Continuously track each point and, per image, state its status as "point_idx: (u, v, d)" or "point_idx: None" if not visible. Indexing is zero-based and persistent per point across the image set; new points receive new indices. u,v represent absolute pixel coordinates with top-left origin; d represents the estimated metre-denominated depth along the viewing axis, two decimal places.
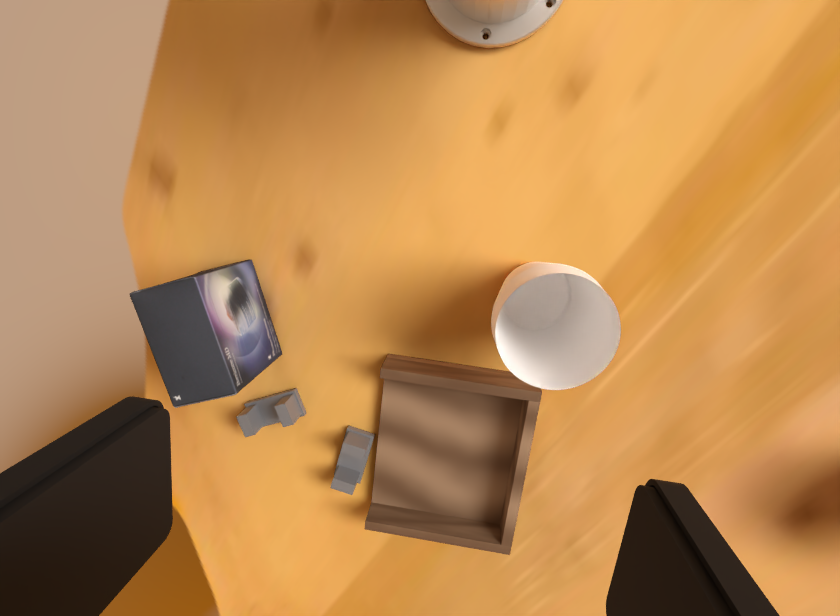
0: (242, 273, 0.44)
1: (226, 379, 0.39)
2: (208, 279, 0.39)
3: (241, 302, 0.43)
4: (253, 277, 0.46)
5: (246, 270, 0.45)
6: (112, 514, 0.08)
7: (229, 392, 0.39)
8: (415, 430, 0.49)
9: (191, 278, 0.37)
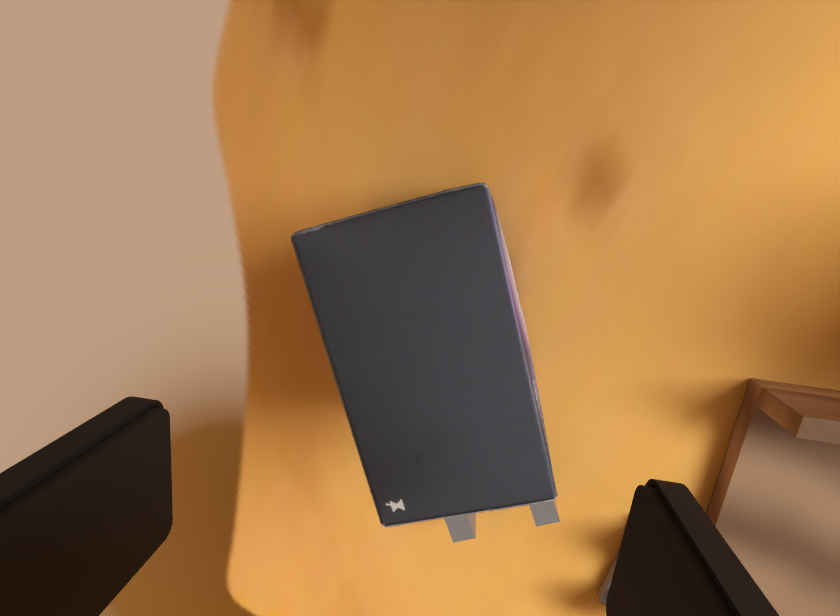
0: None
1: (535, 462, 0.15)
2: None
3: None
4: None
5: None
6: (112, 514, 0.08)
7: (537, 496, 0.15)
8: (794, 530, 0.24)
9: (477, 187, 0.13)
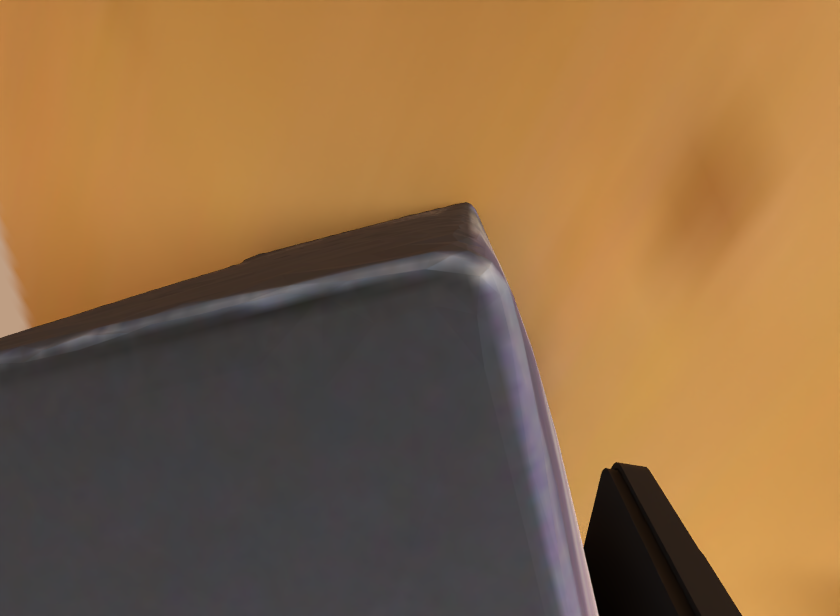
0: None
1: None
2: None
3: None
4: None
5: None
6: None
7: None
8: None
9: (416, 290, 0.02)
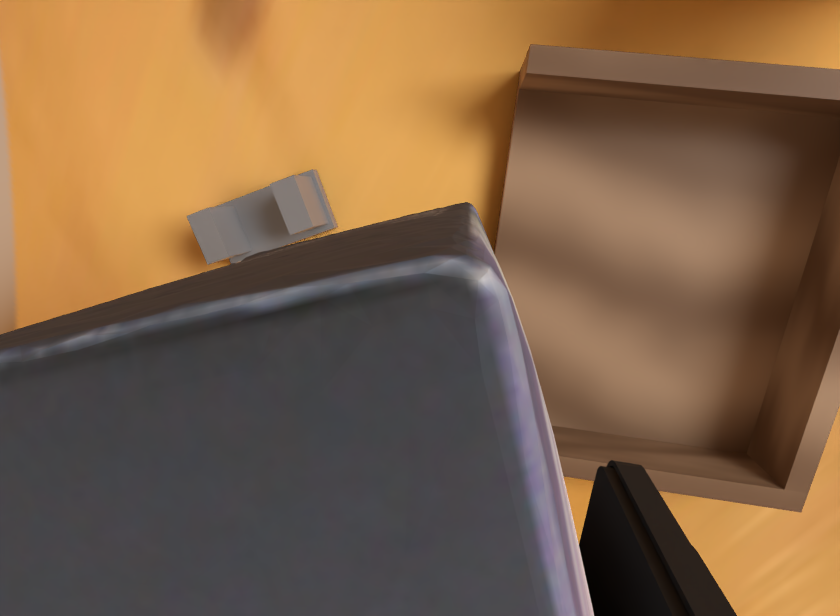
0: None
1: None
2: None
3: None
4: None
5: None
6: None
7: None
8: (577, 245, 0.22)
9: (415, 292, 0.02)
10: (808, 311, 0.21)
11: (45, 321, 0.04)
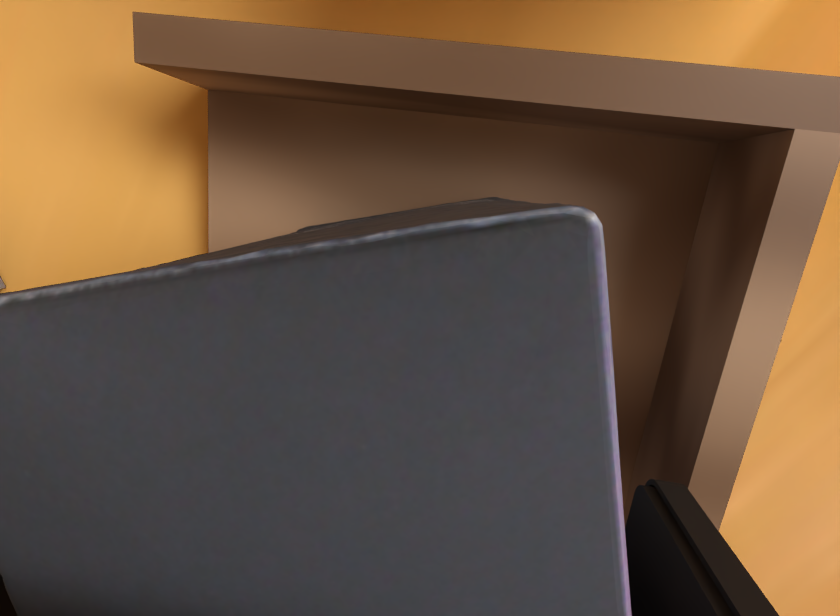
0: None
1: None
2: None
3: None
4: None
5: None
6: None
7: None
8: None
9: (559, 222, 0.03)
10: (658, 443, 0.13)
11: (218, 252, 0.06)
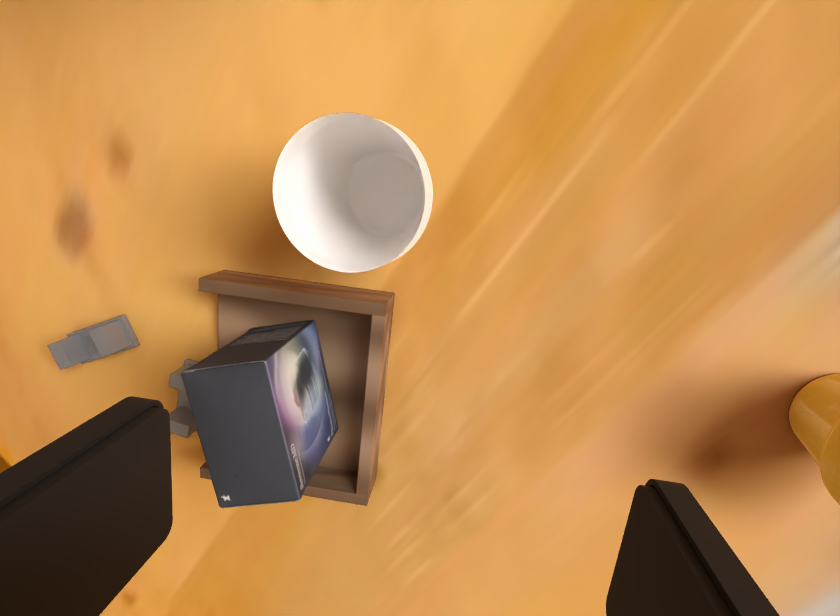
0: (307, 341, 0.37)
1: (289, 482, 0.32)
2: (278, 360, 0.32)
3: (307, 379, 0.36)
4: (316, 343, 0.39)
5: (311, 336, 0.38)
6: (112, 514, 0.08)
7: (290, 498, 0.32)
8: None
9: (261, 362, 0.30)
10: None
11: (222, 356, 0.33)
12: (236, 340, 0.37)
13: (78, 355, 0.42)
